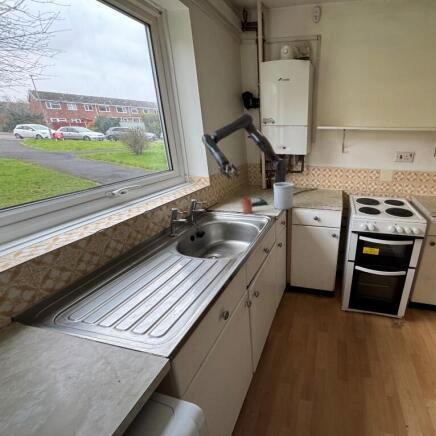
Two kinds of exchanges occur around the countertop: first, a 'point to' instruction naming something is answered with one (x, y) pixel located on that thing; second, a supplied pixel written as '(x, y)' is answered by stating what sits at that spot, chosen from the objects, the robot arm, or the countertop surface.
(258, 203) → the kitchen scale
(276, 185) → the utensil holder
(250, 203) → the cup
